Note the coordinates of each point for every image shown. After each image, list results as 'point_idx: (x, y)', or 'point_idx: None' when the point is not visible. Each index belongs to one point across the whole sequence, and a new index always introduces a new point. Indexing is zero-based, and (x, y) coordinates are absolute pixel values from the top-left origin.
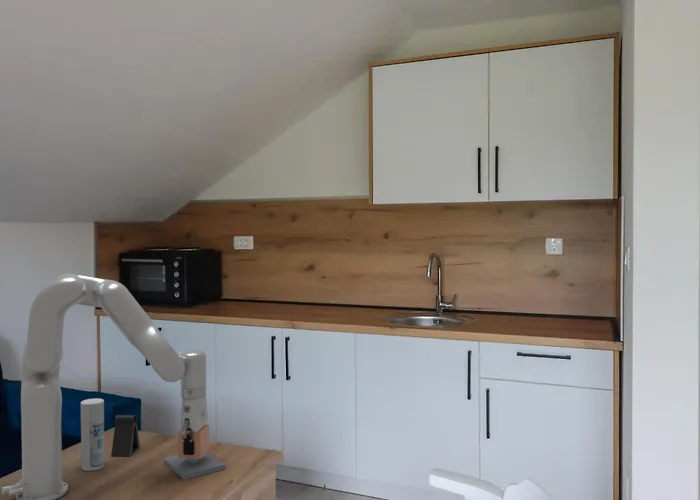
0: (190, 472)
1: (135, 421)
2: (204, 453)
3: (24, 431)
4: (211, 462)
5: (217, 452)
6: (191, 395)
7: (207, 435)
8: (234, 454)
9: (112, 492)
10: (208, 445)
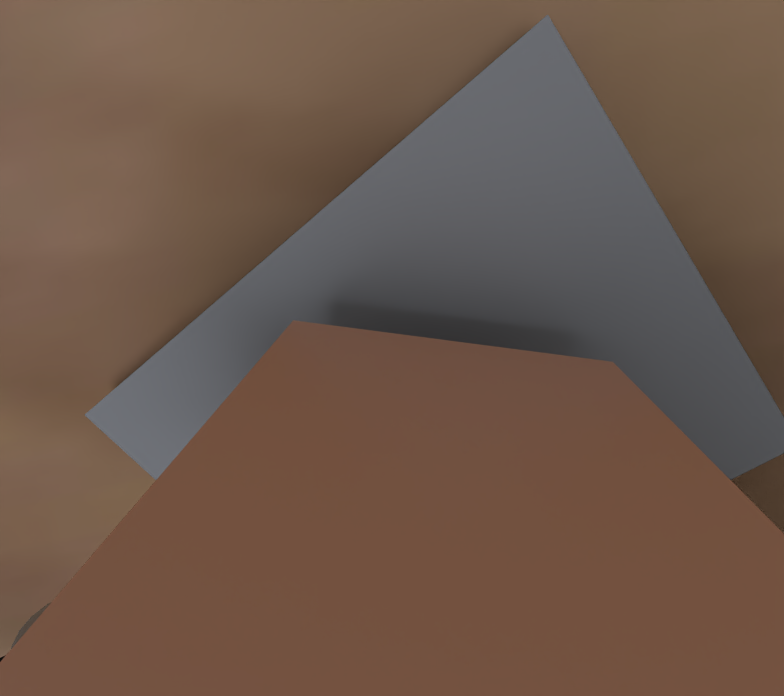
0: (752, 394)
1: None
2: (474, 352)
3: None
4: (469, 231)
5: (41, 261)
6: None
7: (299, 468)
8: (43, 31)
9: None
10: (299, 353)
